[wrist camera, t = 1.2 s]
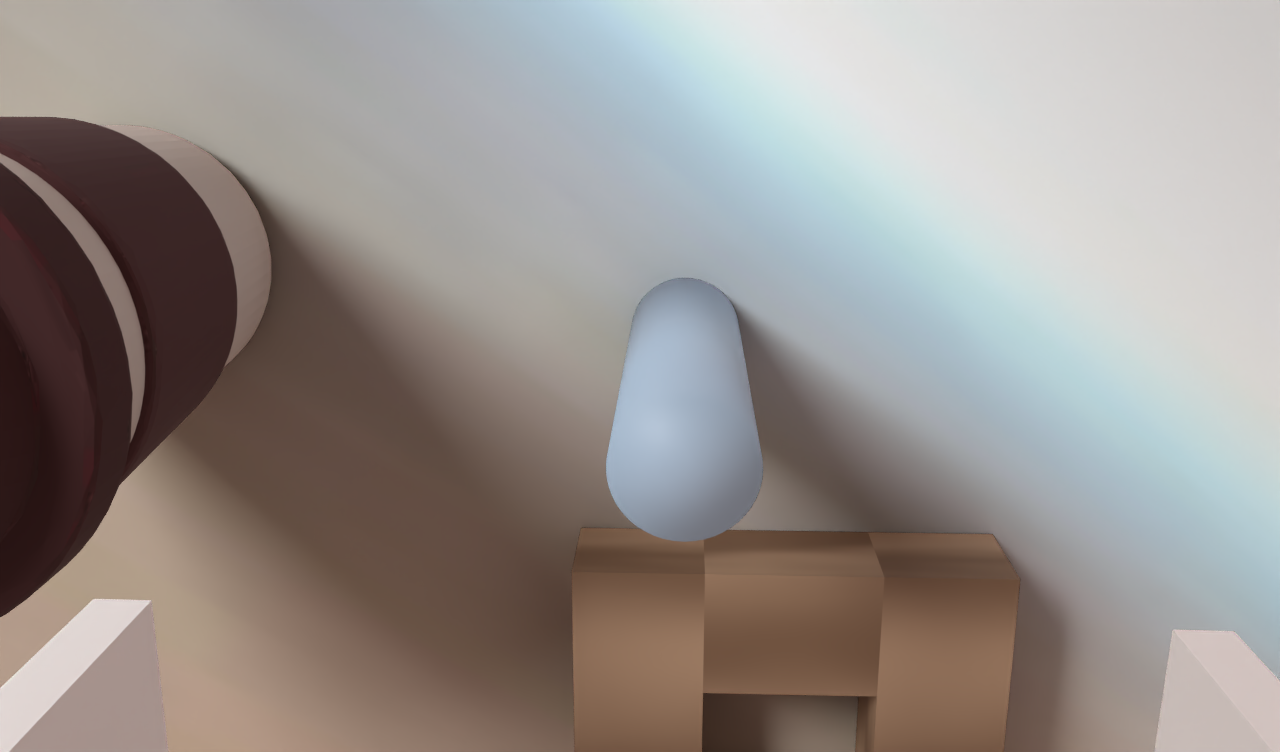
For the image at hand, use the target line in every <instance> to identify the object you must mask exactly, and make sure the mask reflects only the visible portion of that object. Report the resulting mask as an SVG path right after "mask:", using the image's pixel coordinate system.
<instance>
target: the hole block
mask: <svg viewBox="0 0 1280 752" xmlns="http://www.w3.org/2000/svg"><path fill="white" fill-rule="evenodd" d="M1019 589H1020V578H1019V576H1018V575H1017V573H1016V572H1015V570H1014V568H1013V567H1012V565H1011V563H1010V562H1009V560H1008V559H1007V557H1006V555H1005V554H1004V552H1003V550H1002V549H1001V547H1000V545H999V544H998V542H997V541H996V539H995V537H994V536H993V534H952V533H887V532H821V531H755V530H726V531H725V532H723V533H721V534H718V535H716V536H714V537H711V538H707V539H704V540H698V541H688V542H681V541H671V540H666V539H662V538H659V537H656V536H653V535H651V534H649V533H647V532H645V531H643V530H642V529H624V528H581V530H580V535H579V539H578V544H577V549H576V554H575V558H574V563H573V568H572V628H573V688H574V747H575V752H702V718H703V693H727V694H777V695H826V696H858V714H857V731H856V748H855V752H1004V743H1005V732H1006V722H1007V712H1008V702H1009V691H1010V681H1011V671H1012V660H1013V650H1014V640H1015V630H1016V619H1017V609H1018V599H1019Z"/></svg>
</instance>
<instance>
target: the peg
mask: <svg viewBox="0 0 1280 752" xmlns="http://www.w3.org/2000/svg"><path fill="white" fill-rule="evenodd" d="M606 475H607V481H608V486H609V489H610V492H611V495H612V497H613V499H614V501H615V503H616V504H617V506H618V507H619V509H620V510H621V512H622V513H623V514H624V515H625V516H626V517H627V518H628V519H629V520H630V521H631V522H632V523H633V524H635V525H636V526H637V527H639V528H640V529H642V530H643V531H645V532H647V533H649V534H651V535H653V536H656V537H659V538H662V539H666V540H671V541H681V542H688V541H698V540H704V539H707V538H711V537H714V536H716V535H718V534H721V533H723V532H725V531H726V530H728V529H730V528H731V527H732V526H734V525H735V524H736V523H738V522H739V521H740V520H741V519H742V518H743V517H744V516H745V515H746V513H747V512H748V511H749V510H750V508H751V507H752V505H753V503H754V502H755V500H756V498H757V495H758V493H759V490H760V487H761V483H762V477H763V459H762V453H761V448H760V442H759V436H758V431H757V425H756V420H755V414H754V408H753V403H752V397H751V391H750V386H749V380H748V374H747V369H746V363H745V358H744V352H743V346H742V341H741V335H740V329H739V324H738V318H737V315H736V312H735V309H734V307H733V305H732V304H731V302H730V301H729V299H728V298H727V297H726V296H725V295H724V293H722V292H721V291H720V290H719V289H718V288H716V287H715V286H713V285H711V284H709V283H707V282H705V281H702V280H698V279H693V278H678V279H672V280H669V281H666V282H664V283H661V284H659V285H658V286H656V287H654V288H653V289H652V290H651V291H649V292H648V293H647V294H646V295H645V296H644V297H643V299H642V300H641V302H640V303H639V305H638V307H637V309H636V311H635V313H634V316H633V321H632V326H631V331H630V337H629V342H628V347H627V353H626V358H625V363H624V369H623V374H622V379H621V385H620V390H619V395H618V401H617V406H616V411H615V417H614V422H613V427H612V432H611V438H610V443H609V448H608V454H607V460H606Z"/></svg>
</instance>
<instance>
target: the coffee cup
mask: <svg viewBox="0 0 1280 752" xmlns="http://www.w3.org/2000/svg"><path fill="white" fill-rule="evenodd" d="M270 285H271V254H270V249H269V243H268V238H267V234H266V231H265V229H264V226H263V223H262V220H261V218H260V215H259V212H258V210H257V209H256V207H255V205H254V204H253V202H252V200H251V199H250V197H249V195H248V193H247V192H246V190H245V189H244V188H243V187H242V185H241V184H240V183H239V182H238V180H237V179H236V178H235V177H234V175H233V174H232V173H231V172H230V171H229V170H228V169H227V168H225V167H224V166H223V165H222V164H221V163H220V162H219V161H217V160H216V159H215V158H214V157H213V156H212V155H211V154H209V153H207V152H206V151H204V150H203V149H201V148H199V147H198V146H196V145H194V144H192V143H191V142H189V141H187V140H185V139H183V138H180V137H178V136H176V135H173V134H170V133H167V132H164V131H161V130H157V129H153V128H148V127H142V126H133V125H96V124H92V123H88V122H84V121H79V120H75V119H67V118H57V117H0V617H2V616H3V615H5V614H7V613H8V612H10V611H11V610H12V609H14V608H15V607H16V606H18V605H19V604H21V603H22V602H23V601H25V600H26V599H27V598H28V597H30V596H31V595H32V594H33V593H34V592H35V591H37V590H38V589H39V588H40V587H41V586H42V585H44V584H45V583H46V582H47V581H48V580H49V579H51V578H52V577H53V576H54V575H55V574H56V573H58V572H59V571H60V570H61V569H62V568H63V567H64V566H66V565H67V564H68V563H69V562H70V561H71V560H72V559H73V558H74V557H75V556H76V555H77V554H78V553H79V552H80V550H81V549H82V548H83V547H84V546H85V544H86V543H87V542H88V541H89V539H90V538H91V537H92V536H93V534H94V533H95V531H96V530H97V528H98V526H99V525H100V523H101V521H102V520H103V518H104V516H105V515H106V513H107V512H108V510H109V507H110V505H111V503H112V500H113V498H114V496H115V494H116V491H117V489H118V487H119V485H120V484H121V483H122V482H123V481H124V480H125V479H126V478H127V477H128V476H129V475H130V474H131V473H132V472H133V471H134V470H135V469H136V468H137V467H138V466H139V465H140V464H141V463H142V462H143V461H144V460H145V459H146V458H147V457H148V455H149V454H150V453H151V452H152V451H153V450H154V449H155V448H156V447H157V446H158V445H159V444H160V443H161V442H162V441H163V440H164V439H165V438H166V437H167V436H168V435H169V434H170V433H171V432H172V431H173V430H174V429H175V428H176V427H177V426H178V425H179V424H180V423H181V422H182V421H183V420H184V419H185V418H186V417H187V416H188V415H189V414H190V413H191V412H192V411H193V410H194V409H195V408H196V407H197V406H198V405H199V403H200V402H201V401H202V400H203V399H204V398H205V396H206V395H207V394H208V392H209V391H210V390H211V389H212V387H213V385H214V384H215V382H216V381H217V379H218V377H219V376H220V374H221V372H222V370H223V368H224V367H225V366H226V365H227V364H228V363H229V362H230V361H231V360H232V359H233V358H234V357H235V356H236V355H237V354H238V353H239V352H240V351H241V350H242V349H243V348H244V347H245V346H246V344H247V343H248V342H249V340H250V339H251V337H252V336H253V335H254V333H255V331H256V329H257V327H258V325H259V324H260V321H261V319H262V316H263V314H264V311H265V308H266V305H267V302H268V297H269V291H270Z"/></svg>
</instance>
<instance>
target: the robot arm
mask: <svg viewBox="0 0 1280 752" xmlns="http://www.w3.org/2000/svg"><path fill="white" fill-rule="evenodd" d="M0 752H168V744H167V735H166V726H165V717H164V708H163V699H162V690H161V681H160V672H159V663H158V654H157V645H156V636H155V627H154V618H153V609H152V600H117V599H93V600H92V601H91V602H90V603H89V604H88V605H87V606H86V607H85V608H84V609H82V610H81V611H80V612H79V613H78V614H77V615H76V616H75V617H74V618H73V619H72V620H71V621H70V622H69V623H68V624H67V625H66V626H65V627H64V628H63V629H62V630H60V631H59V632H58V633H57V634H56V635H55V636H54V637H53V638H52V639H51V640H50V641H49V642H48V643H47V644H46V645H45V646H44V647H43V648H42V649H41V650H40V651H38V652H37V653H36V654H35V655H34V656H33V657H32V658H31V659H30V660H29V661H28V662H27V663H26V664H25V665H24V666H23V667H22V668H21V669H20V670H19V671H17V672H16V673H15V674H14V675H13V676H12V677H11V678H10V679H9V680H8V681H7V682H6V683H5V684H4V685H3V686H2V687H1V688H0ZM1154 752H1280V681H1279V680H1278V679H1277V677H1276V676H1275V675H1274V674H1273V673H1272V672H1271V671H1270V670H1269V669H1268V668H1267V667H1266V665H1265V664H1264V663H1263V662H1262V661H1261V660H1260V659H1259V658H1258V657H1257V656H1256V655H1255V653H1254V652H1253V651H1252V650H1251V649H1250V648H1249V647H1248V646H1247V645H1246V644H1245V643H1244V641H1243V640H1242V639H1241V638H1240V637H1239V636H1238V635H1237V634H1236V633H1235V632H1234V631H1209V630H1174V629H1173V631H1172V638H1171V644H1170V651H1169V658H1168V664H1167V671H1166V677H1165V684H1164V691H1163V697H1162V704H1161V711H1160V717H1159V724H1158V731H1157V737H1156V744H1155V750H1154Z"/></svg>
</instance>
